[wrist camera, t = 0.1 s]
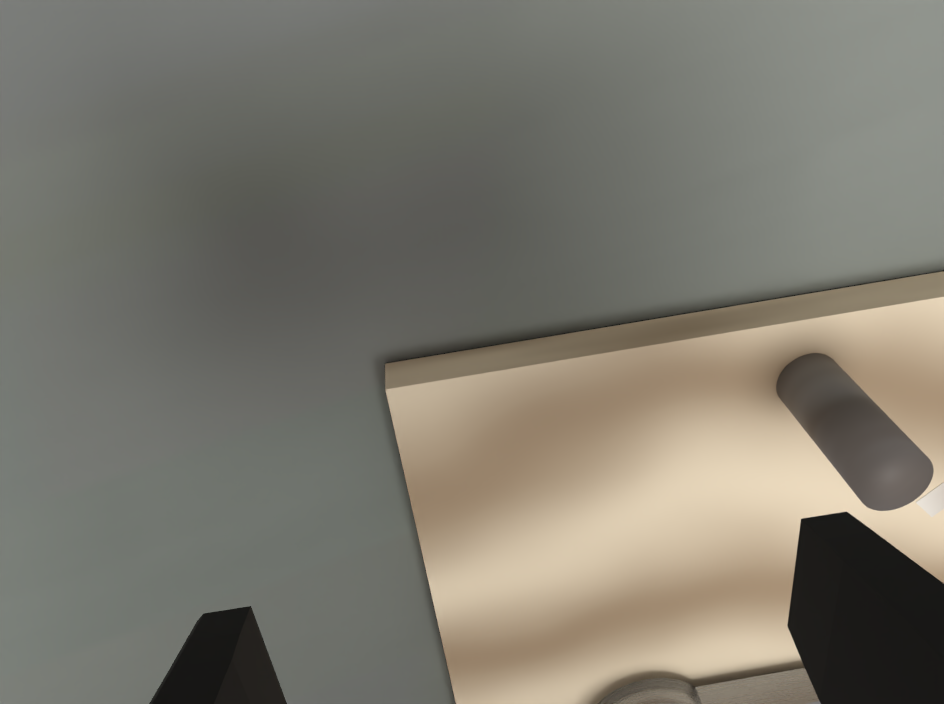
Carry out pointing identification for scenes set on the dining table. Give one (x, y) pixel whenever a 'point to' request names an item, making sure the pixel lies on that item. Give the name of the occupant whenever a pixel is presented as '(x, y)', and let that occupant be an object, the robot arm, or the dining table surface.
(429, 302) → the dining table surface
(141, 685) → the dining table surface
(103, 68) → the dining table surface
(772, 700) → the lever
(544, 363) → the board
